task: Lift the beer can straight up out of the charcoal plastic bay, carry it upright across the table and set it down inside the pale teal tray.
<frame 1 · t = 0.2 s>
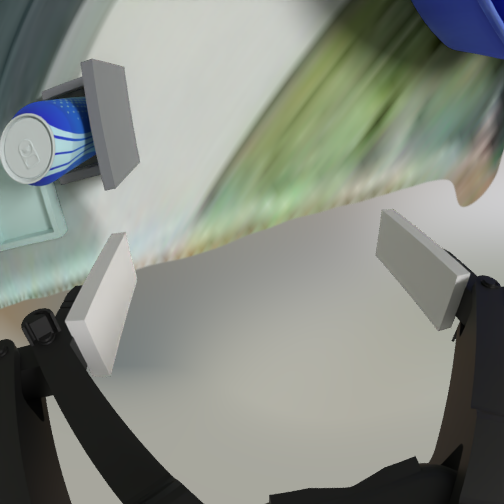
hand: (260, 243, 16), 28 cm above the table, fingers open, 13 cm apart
beer can: (85, 126, 36), on the table
tray: (19, 197, 38), on the table
bay: (85, 126, 36), on the table
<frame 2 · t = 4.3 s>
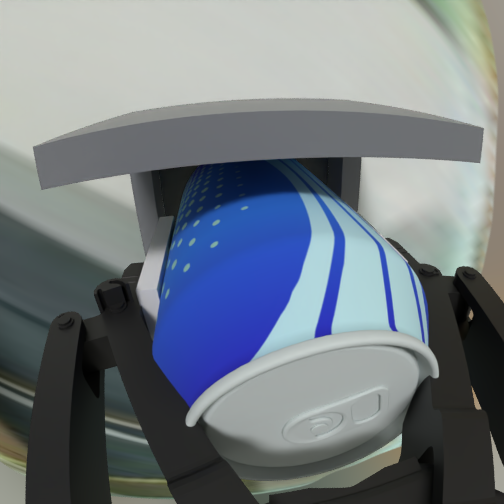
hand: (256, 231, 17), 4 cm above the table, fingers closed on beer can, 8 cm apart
beer can: (247, 202, 21), on the table, touching gripper
bay: (247, 203, 21), on the table
when the fingers open (6 cm above the table, at t = 11.1 s): beer can drops 1 cm, resting on tray.
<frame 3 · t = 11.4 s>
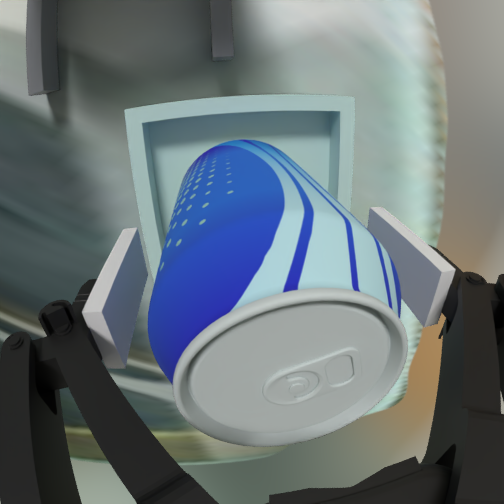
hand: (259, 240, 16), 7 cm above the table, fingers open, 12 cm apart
beer can: (241, 195, 22), resting on tray
tray: (244, 194, 22), on the table
bay: (128, 12, 15), on the table
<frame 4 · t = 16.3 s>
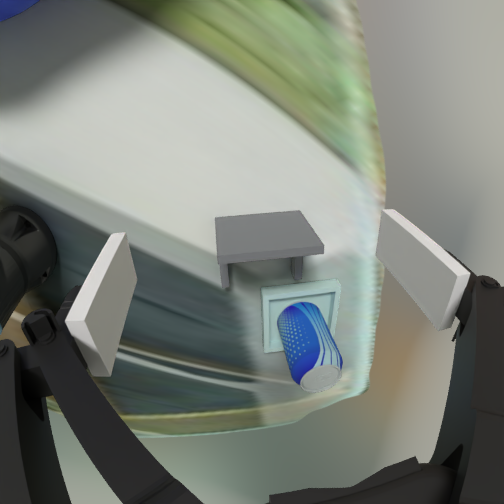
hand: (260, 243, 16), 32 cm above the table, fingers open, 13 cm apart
beer can: (297, 314, 59), resting on tray
tray: (298, 313, 60), on the table
bay: (259, 252, 52), on the table
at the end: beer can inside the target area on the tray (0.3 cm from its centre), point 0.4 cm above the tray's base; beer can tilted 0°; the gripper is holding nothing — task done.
